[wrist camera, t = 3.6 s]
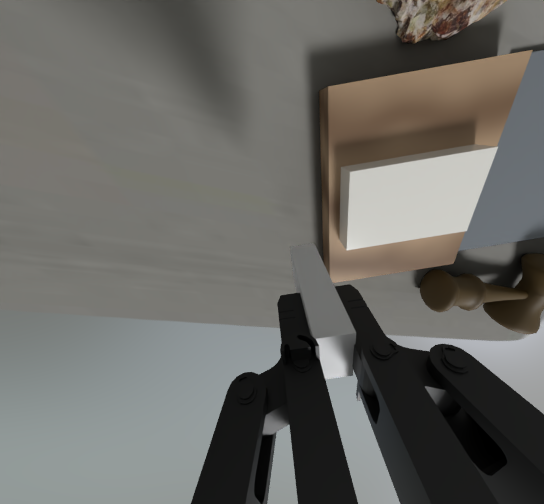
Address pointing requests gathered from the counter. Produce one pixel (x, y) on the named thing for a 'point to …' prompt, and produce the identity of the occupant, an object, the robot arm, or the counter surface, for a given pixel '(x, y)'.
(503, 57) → the tan wooden board
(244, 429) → the robot arm
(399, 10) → the mineral rock
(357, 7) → the counter surface
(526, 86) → the mat
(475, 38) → the counter surface
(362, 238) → the stone tile
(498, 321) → the kendama
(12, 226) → the counter surface
